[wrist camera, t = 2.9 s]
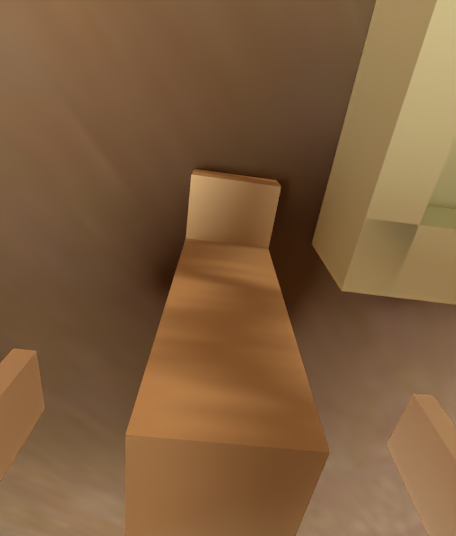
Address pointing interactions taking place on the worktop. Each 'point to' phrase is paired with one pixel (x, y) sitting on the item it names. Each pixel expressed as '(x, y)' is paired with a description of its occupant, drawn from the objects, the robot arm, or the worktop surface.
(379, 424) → the worktop surface
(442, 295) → the well block
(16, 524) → the worktop surface
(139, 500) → the wooden stepped block
